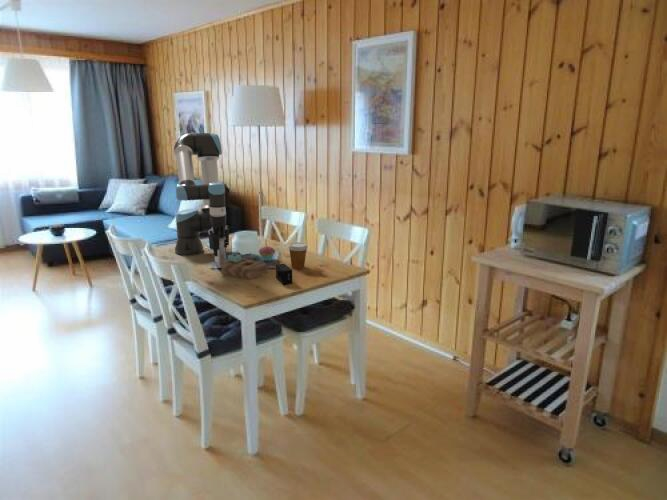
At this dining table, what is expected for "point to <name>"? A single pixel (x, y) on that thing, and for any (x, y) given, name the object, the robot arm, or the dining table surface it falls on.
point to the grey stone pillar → (221, 251)
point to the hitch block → (244, 268)
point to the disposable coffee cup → (297, 254)
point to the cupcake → (266, 252)
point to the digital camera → (283, 274)
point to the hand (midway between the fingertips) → (220, 260)
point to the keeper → (235, 258)
